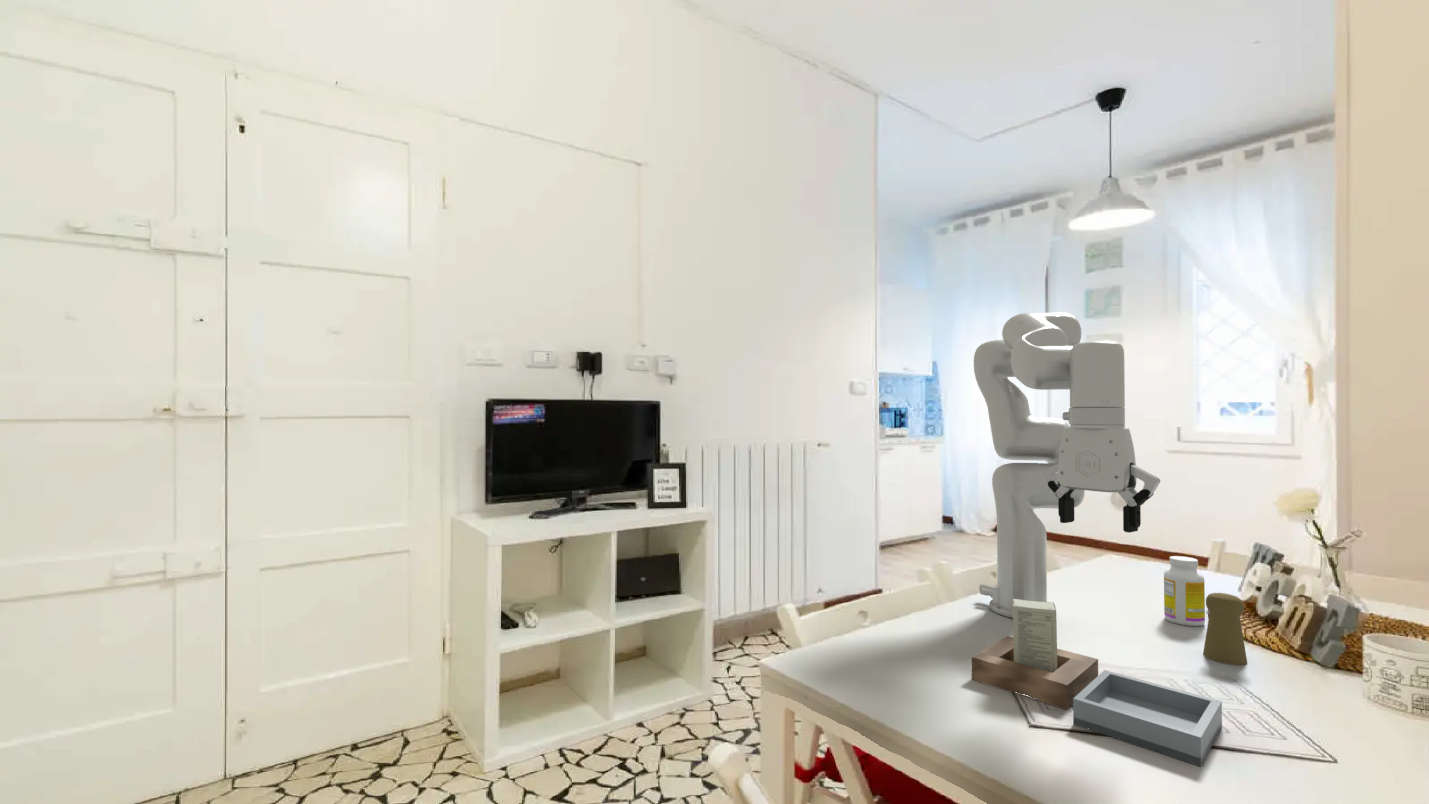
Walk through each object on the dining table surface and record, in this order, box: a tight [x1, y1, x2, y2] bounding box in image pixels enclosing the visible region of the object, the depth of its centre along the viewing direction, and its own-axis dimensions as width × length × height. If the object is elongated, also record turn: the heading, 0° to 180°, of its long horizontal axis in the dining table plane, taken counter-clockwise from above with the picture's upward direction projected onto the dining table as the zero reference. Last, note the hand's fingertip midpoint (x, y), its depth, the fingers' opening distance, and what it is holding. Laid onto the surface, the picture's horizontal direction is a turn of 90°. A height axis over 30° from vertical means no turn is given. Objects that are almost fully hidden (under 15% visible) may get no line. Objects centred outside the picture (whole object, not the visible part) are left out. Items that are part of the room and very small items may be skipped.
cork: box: [1202, 592, 1248, 666], centre depth 110 cm, size 6×6×11 cm
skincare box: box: [1012, 599, 1058, 673], centre depth 100 cm, size 6×4×12 cm
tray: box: [1072, 669, 1223, 767], centre depth 86 cm, size 14×14×4 cm
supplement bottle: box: [1163, 555, 1206, 627], centre depth 129 cm, size 7×7×13 cm
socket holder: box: [971, 635, 1099, 711], centre depth 100 cm, size 14×14×4 cm
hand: (1097, 526), depth 101 cm, fingers open, 9 cm apart
